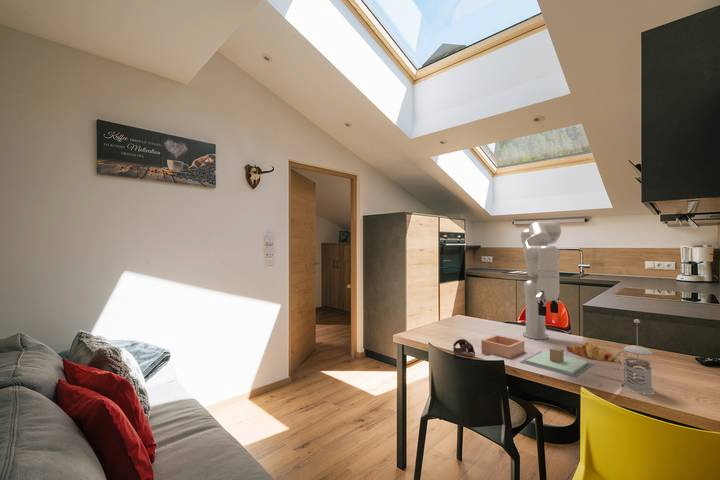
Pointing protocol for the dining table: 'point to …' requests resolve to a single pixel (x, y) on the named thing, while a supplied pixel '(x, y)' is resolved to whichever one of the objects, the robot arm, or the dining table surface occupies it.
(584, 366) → the mat
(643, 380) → the french press
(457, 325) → the dining table surface
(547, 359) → the lid
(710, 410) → the dining table surface
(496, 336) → the shallow wooden crate
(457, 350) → the brown napkin holder
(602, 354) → the croissant
